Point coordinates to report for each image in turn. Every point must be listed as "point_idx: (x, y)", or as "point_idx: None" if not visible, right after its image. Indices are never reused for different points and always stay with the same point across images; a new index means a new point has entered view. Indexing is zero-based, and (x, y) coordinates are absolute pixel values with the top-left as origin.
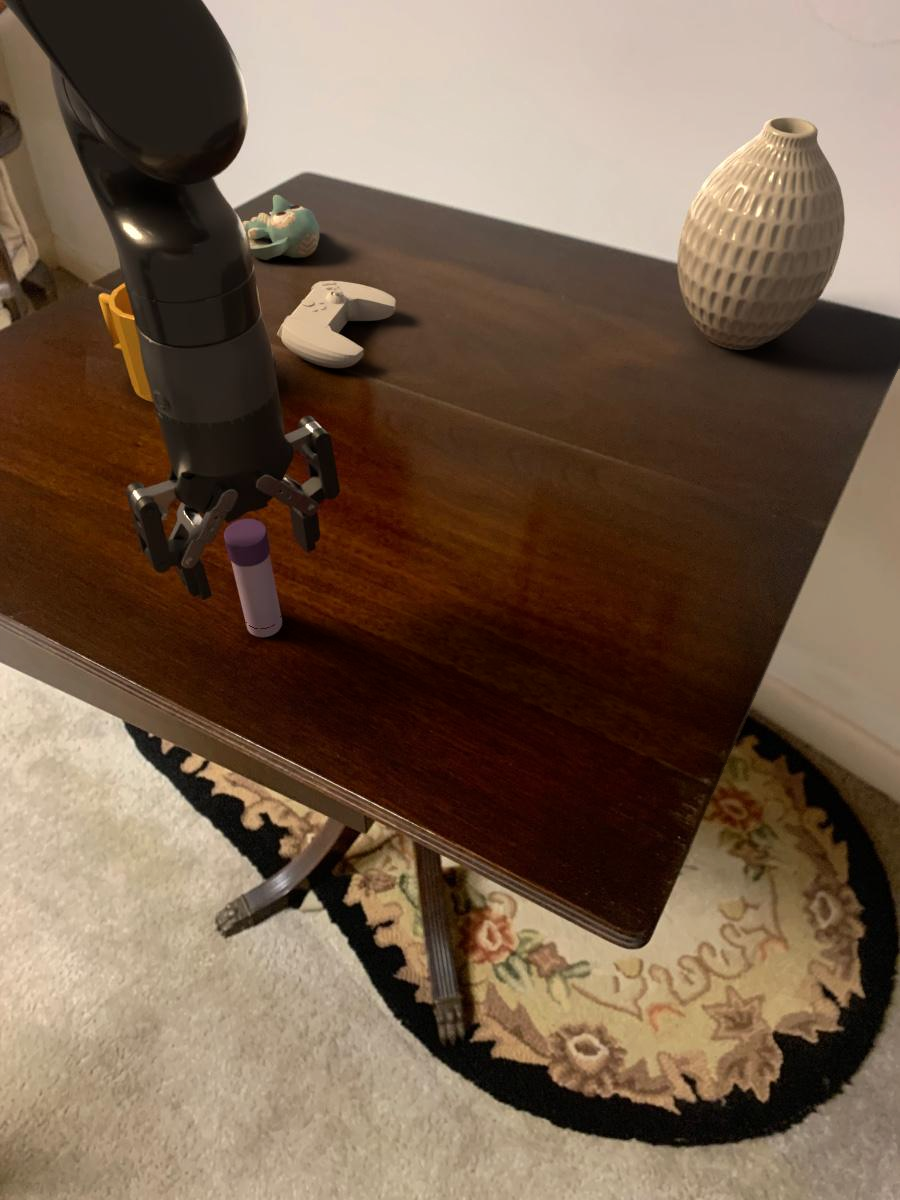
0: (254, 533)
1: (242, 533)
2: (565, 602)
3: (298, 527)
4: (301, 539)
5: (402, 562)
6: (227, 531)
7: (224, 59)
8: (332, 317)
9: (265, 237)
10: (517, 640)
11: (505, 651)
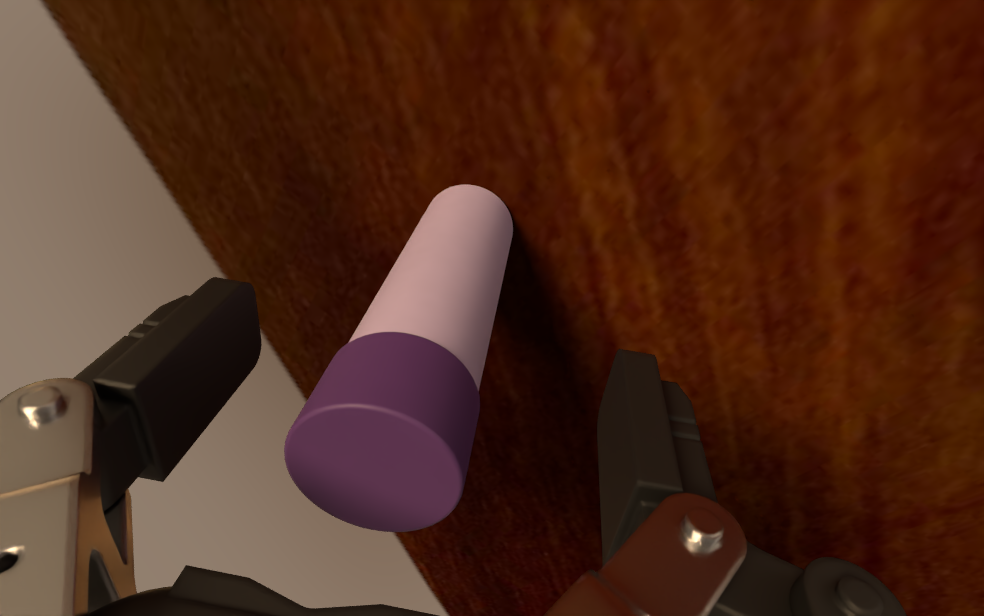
0: (402, 498)
1: (361, 470)
2: (948, 566)
3: (612, 453)
4: (607, 420)
5: (877, 302)
6: (310, 427)
7: None
8: None
9: None
10: (798, 554)
11: None
